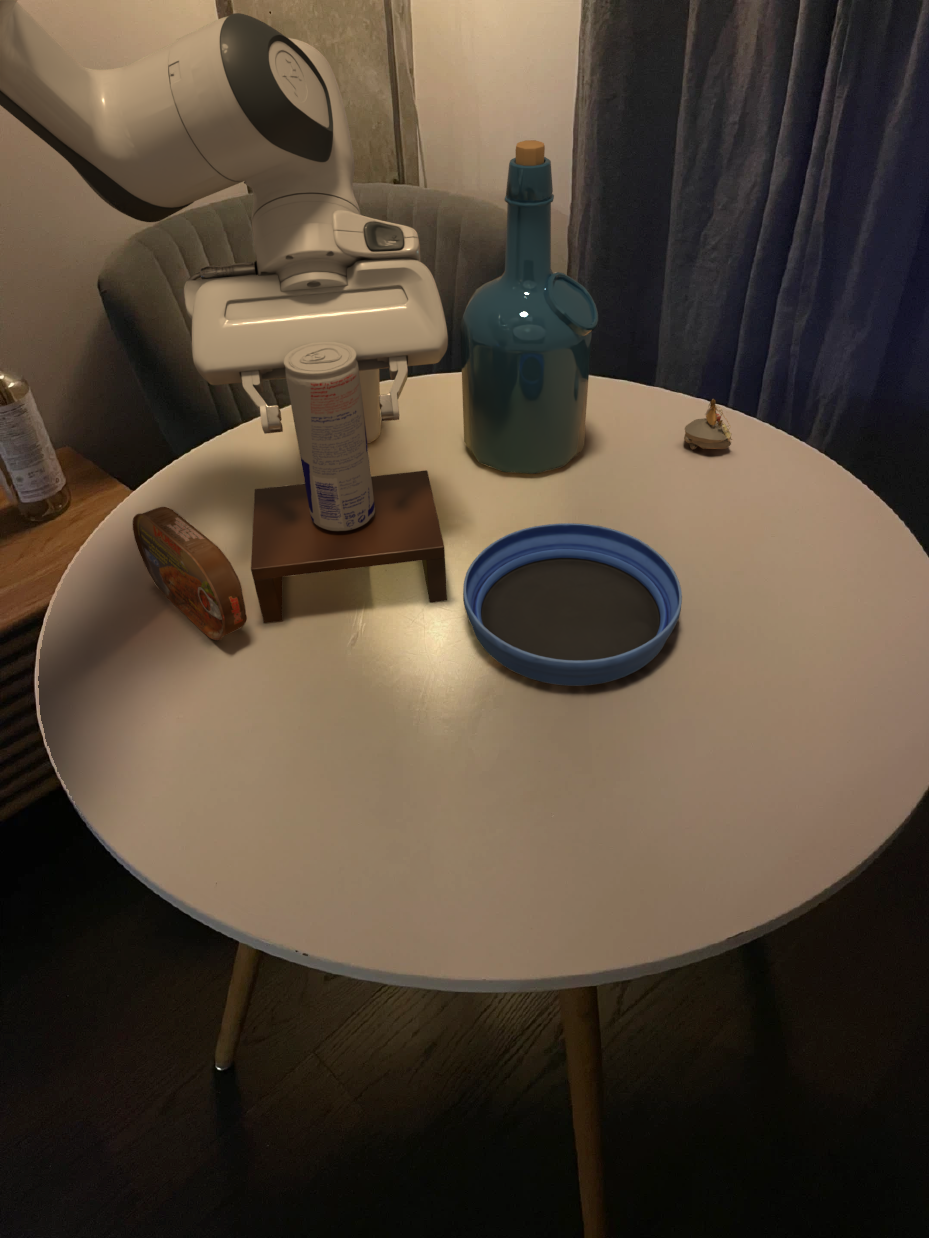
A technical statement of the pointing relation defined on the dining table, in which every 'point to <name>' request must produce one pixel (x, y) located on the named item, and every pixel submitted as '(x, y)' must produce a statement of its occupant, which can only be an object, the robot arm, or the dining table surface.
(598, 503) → the dining table surface
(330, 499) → the beverage can
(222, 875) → the dining table surface
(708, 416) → the figurine
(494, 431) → the wine bottle
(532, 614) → the bowl
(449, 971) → the dining table surface
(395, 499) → the shelf
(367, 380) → the drinking glass
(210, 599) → the tin
